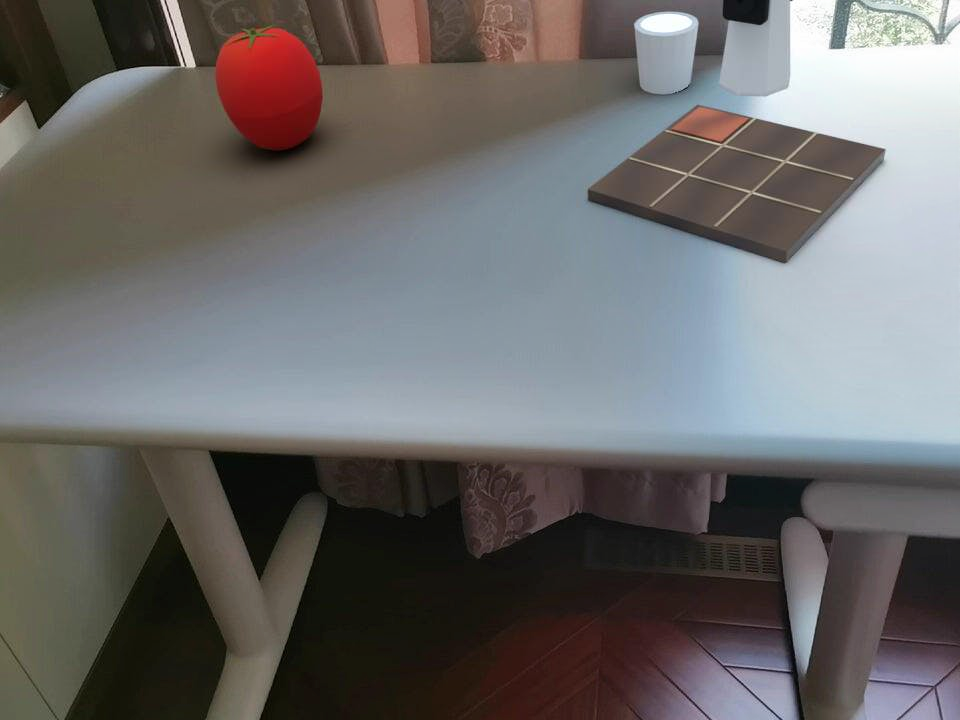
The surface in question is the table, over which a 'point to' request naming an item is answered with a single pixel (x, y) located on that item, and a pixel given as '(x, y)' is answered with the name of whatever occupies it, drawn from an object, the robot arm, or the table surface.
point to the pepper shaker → (758, 54)
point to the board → (739, 180)
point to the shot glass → (665, 51)
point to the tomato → (269, 87)
